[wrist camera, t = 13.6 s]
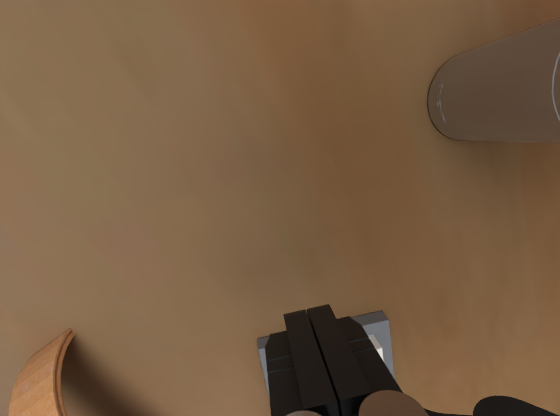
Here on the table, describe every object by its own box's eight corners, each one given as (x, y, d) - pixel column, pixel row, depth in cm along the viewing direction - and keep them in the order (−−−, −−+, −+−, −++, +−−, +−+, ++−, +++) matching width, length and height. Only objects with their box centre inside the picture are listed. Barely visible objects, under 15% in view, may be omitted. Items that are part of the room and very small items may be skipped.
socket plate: (381, 310, 39) (398, 332, 35) (391, 410, 43) (408, 441, 39) (257, 338, 38) (259, 364, 34) (279, 438, 42) (283, 473, 38)
